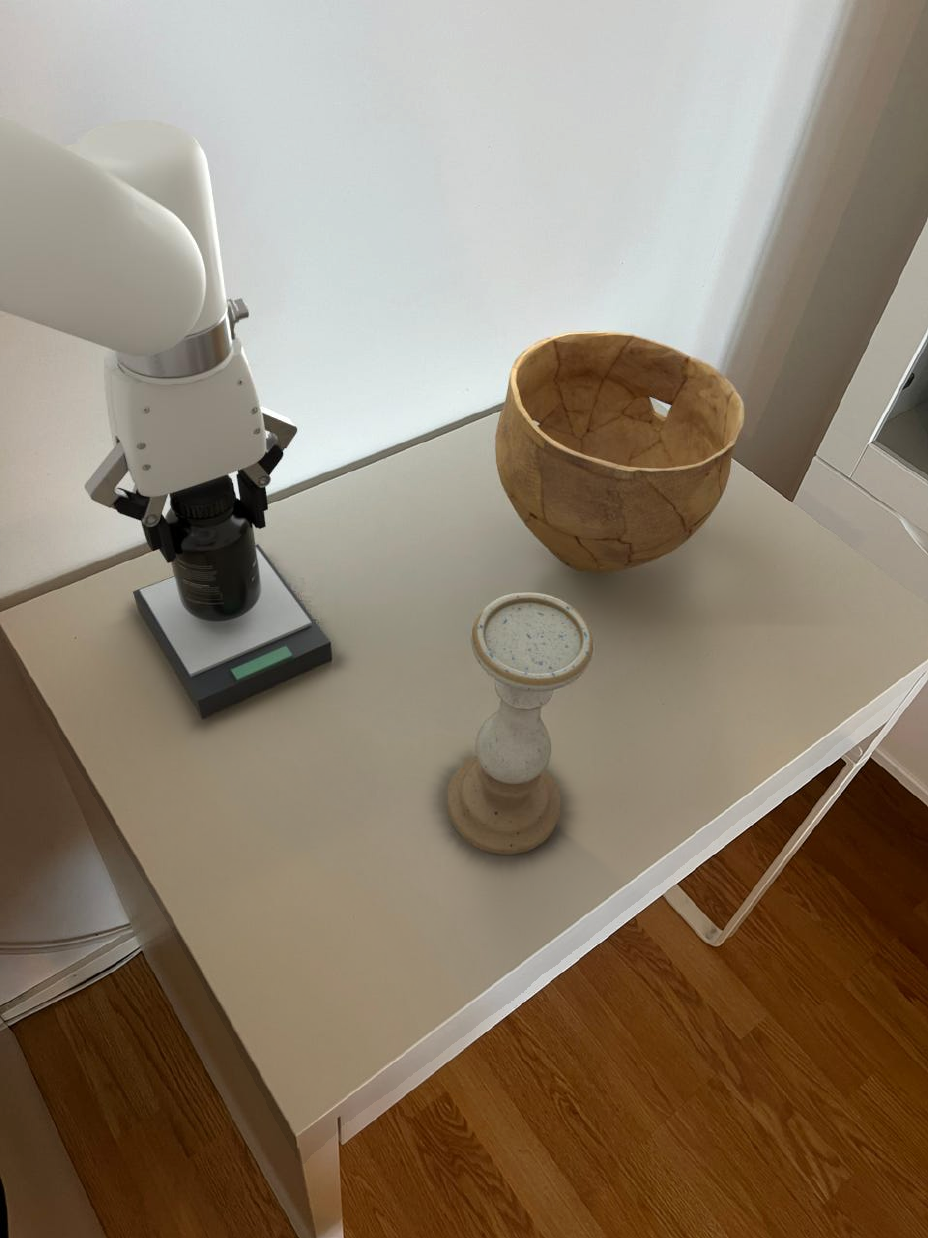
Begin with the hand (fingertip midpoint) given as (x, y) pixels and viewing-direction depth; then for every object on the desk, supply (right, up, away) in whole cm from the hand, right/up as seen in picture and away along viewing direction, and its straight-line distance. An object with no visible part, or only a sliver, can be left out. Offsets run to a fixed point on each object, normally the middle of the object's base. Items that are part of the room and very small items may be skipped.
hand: (209, 533), depth 74 cm
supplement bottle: (0, -5, +5) cm, 7 cm away
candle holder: (+23, -21, -1) cm, 32 cm away
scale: (0, -8, +8) cm, 12 cm away
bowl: (+32, -2, +17) cm, 36 cm away
